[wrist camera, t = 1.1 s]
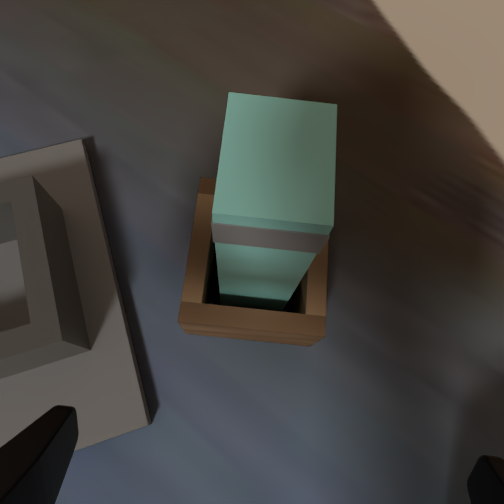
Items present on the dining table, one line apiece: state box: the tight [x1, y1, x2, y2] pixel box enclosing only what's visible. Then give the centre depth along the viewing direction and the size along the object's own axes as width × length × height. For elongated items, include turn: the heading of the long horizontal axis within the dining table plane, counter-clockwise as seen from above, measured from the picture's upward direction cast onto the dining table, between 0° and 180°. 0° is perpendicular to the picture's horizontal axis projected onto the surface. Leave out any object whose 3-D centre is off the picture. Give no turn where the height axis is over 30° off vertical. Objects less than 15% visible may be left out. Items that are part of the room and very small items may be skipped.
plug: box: [211, 92, 337, 312], centre depth 19 cm, size 4×4×13 cm
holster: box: [178, 177, 328, 346], centre depth 23 cm, size 8×7×4 cm
